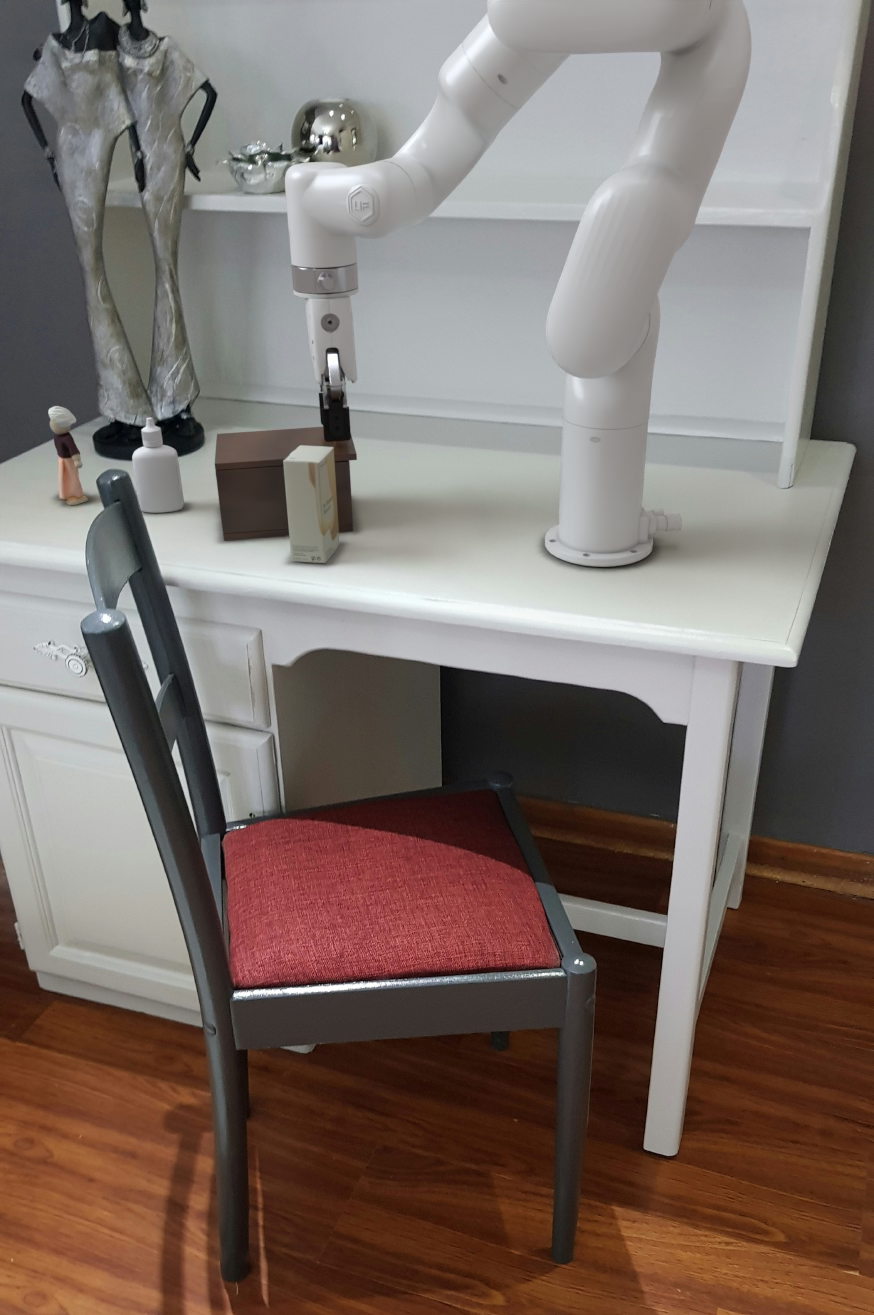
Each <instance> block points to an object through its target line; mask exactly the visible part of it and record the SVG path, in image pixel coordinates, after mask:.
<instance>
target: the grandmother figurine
mask: <svg viewBox="0 0 874 1315" xmlns="http://www.w3.org/2000/svg"><path fill="white" fill-rule="evenodd" d="M47 412H48V417H49V419H50V420H49V428H50V429H51V431H52V432H53V433H54V435H53V444H54V447H55V450H56V454H57V456H58V457H57V463H58V465H57V469H58V492H59V493H58V494H59V499H60V500H66V504H67V505H69V506H77V505H80V504H83V503H86V502H88V500H89V499H88V497H87V496H86V495H84V490H83V486H82V483H81V480H80V477H79V475H80V474H79V469H82V467H83V465H84V464H83V461H82V457H81V451H80V449H79V448H78V447H77V443H76V441H75V439H74V437H73V435H72V434H71V432H70V430H71V426H73V425H75V424H76V423H77V419H76V417H75V415H74V414H73V413H72V412H71V411H70V410H69V409H68V408H66V407H63V406H59V405H53V406H52V407H50V408H49V409H48V411H47Z"/></svg>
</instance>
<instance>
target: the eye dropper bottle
mask: <svg viewBox="0 0 874 1315" xmlns="http://www.w3.org/2000/svg"><path fill="white" fill-rule="evenodd" d="M140 431H141V432H140V433H141V439H142V446H140V447H138V448H137V449H135V450H134V451H133V454H132V456H131V459H132V461H131V462H132V467H133V475H134V481H135V487H136V494H137V501H138V500H139V501H138V504H139V503H140V507H141V509H140V511H141V512H142V513H143V512H144V513H148V514H149V513H150V514H153V513H154V514H163V513H170V512H171V513H172V512H177V511H180V510H182V509H183V508H184V504H185V497H184V490H183V483H182V475H181V469H180V463H179V462H180V461H179V455H178V452H177V450H176V449H175V448H173V447H172V446H169V445H166V444H164V442H163V441H164V440H163V435H162V428H161V427H160V426H157V425H155V422H154V419H153V417H146V418H145V426H144V427H143V428H141V429H140ZM140 507H139V508H140Z"/></svg>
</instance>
